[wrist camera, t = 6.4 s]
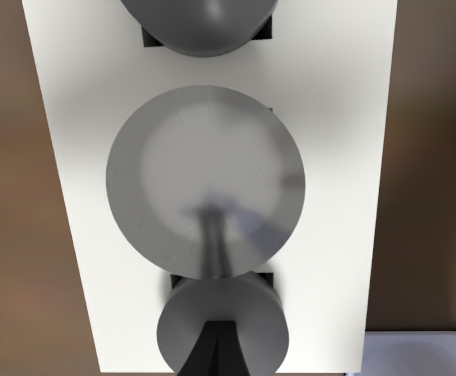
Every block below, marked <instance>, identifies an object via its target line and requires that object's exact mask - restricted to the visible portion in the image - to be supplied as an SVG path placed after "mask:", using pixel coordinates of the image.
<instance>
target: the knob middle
mask: <svg viewBox="0 0 456 376" xmlns="http://www.w3.org/2000/svg"><path fill="white" fill-rule="evenodd" d="M305 189H306V186H305V172H304V167H303V161H302V158H301V155H300V152H299V149H298V147H297V145H296V143H295V141H294V139H293V137H292V135H291V134H290V132H289V131H288V129H287V128H286V126H285V125H284V124H283V123H282V122H281V121H280V119H279V118H278V117H277V116H276V115H275V114H274V113H273V112H272V111H270V110H269V109H268V108H267V107H266V106H265V105H263V104H261V103H260V102H258V101H257V100H255V99H254V98H252V97H250V96H248V95H245V94H243V93H241V92H239V91H235V90H232V89H229V88H225V87H219V86H213V85H193V86H185V87H180V88H176V89H173V90H169V91H167V92H164V93H162V94H160V95H158V96H155V97H154V98H152V99H151V100H149V101H147V102H146V103H144V104H143V105H142V106H141V107H139V108H138V109H137V110H136V111H135V112H134V113H133V114H132V115H131V116H130V117H129V118H128V119H127V120H126V122H125V123H124V124H123V126H122V127H121V129H120V130H119V132H118V133H117V136H116V138H115V140H114V142H113V144H112V147H111V150H110V153H109V156H108V161H107V167H106V191H107V198H108V202H109V206H110V209H111V212H112V215H113V217H114V220H115V222H116V223H117V225H118V227H119V229H120V231H121V232H122V234H123V235H124V237H125V238H126V239H127V241H128V242H129V243H130V244H131V245H132V246H133V248H134V249H135V250H136V251H138V252H139V253H140V254H141V255H142V256H143V257H144V258H146V259H147V260H149V261H150V262H151V263H153V264H154V265H156V266H158V267H160V268H162V269H164V270H166V271H168V272H171V273H173V274H176V275H179V276H183V277H187V278H193V279H200V280H216V279H225V278H230V277H235V276H238V275H241V274H244V273H247V272H249V271H251V270H253V269H255V268H257V267H259V266H260V265H262V264H264V263H265V262H267V261H268V260H269V259H270V258H272V257H273V256H274V255H275V254H276V253H277V252H278V251H279V250H280V249H281V248H282V247H283V246H284V245H285V243H286V242H287V241H288V239H289V238H290V237H291V235H292V233H293V231H294V230H295V228H296V226H297V224H298V221H299V218H300V216H301V213H302V209H303V205H304V200H305Z"/></svg>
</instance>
